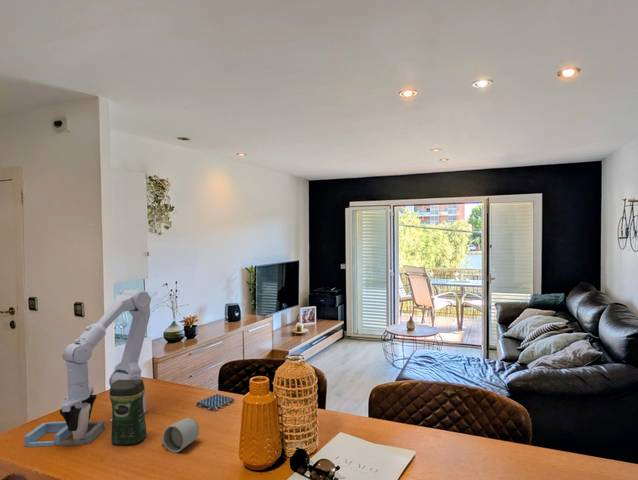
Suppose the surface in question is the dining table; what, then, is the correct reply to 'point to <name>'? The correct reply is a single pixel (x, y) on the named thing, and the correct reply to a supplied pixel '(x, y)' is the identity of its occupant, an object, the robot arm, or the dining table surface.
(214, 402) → the woven mat
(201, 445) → the dining table surface
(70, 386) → the robot arm
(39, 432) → the frame
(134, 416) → the coffee jar
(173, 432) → the grey hollow cylinder
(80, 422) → the smoothie
